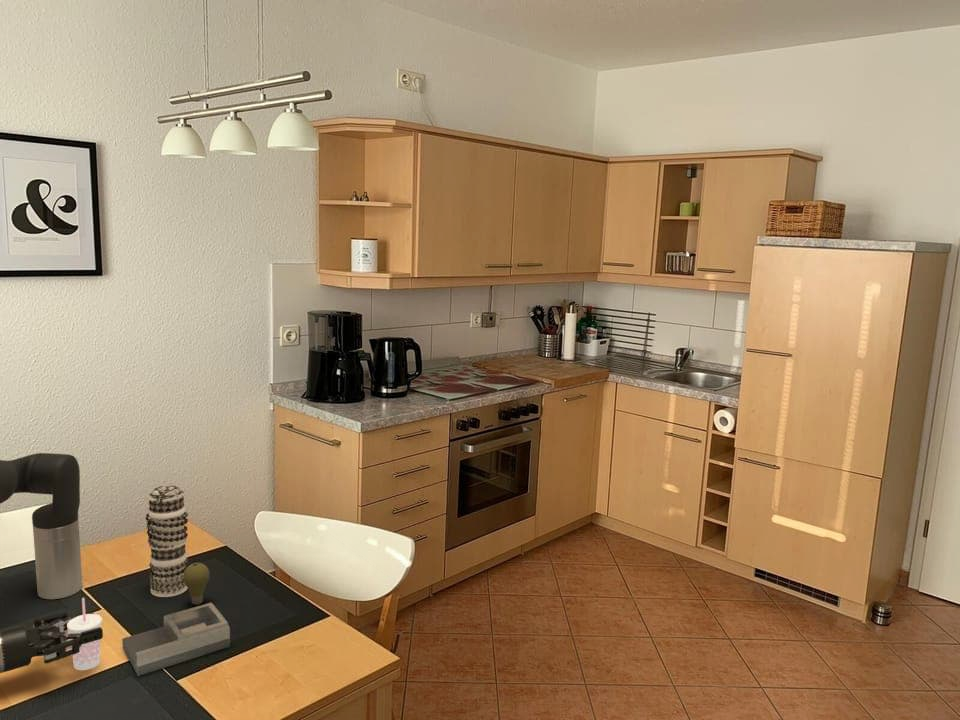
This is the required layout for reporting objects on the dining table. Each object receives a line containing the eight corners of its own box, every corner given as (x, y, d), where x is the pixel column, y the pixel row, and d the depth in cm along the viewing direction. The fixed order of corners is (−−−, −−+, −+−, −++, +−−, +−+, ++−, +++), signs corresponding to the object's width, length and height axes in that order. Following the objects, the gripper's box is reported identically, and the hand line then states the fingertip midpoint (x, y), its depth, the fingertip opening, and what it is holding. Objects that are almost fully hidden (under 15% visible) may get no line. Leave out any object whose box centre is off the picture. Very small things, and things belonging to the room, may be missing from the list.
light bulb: (201, 612, 168) (200, 570, 166) (179, 608, 169) (177, 567, 167) (215, 600, 174) (213, 560, 172) (193, 596, 175) (192, 557, 173)
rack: (122, 647, 154) (121, 625, 153) (210, 621, 165) (210, 600, 164) (137, 676, 144) (136, 652, 143) (230, 646, 155) (229, 624, 154)
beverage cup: (111, 659, 149) (107, 595, 147) (83, 676, 144) (79, 609, 141) (90, 651, 152) (86, 587, 149) (62, 666, 146) (58, 601, 144)
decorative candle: (155, 602, 172) (150, 499, 167) (144, 586, 179) (139, 487, 174) (195, 591, 177) (192, 491, 173) (183, 575, 184) (179, 479, 180)
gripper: (1, 651, 131) (106, 623, 142) (-8, 616, 142) (89, 592, 153) (5, 690, 133) (108, 659, 143) (-5, 652, 144) (91, 626, 154)
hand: (98, 624), depth 148 cm, fingers closed on beverage cup, 6 cm apart
